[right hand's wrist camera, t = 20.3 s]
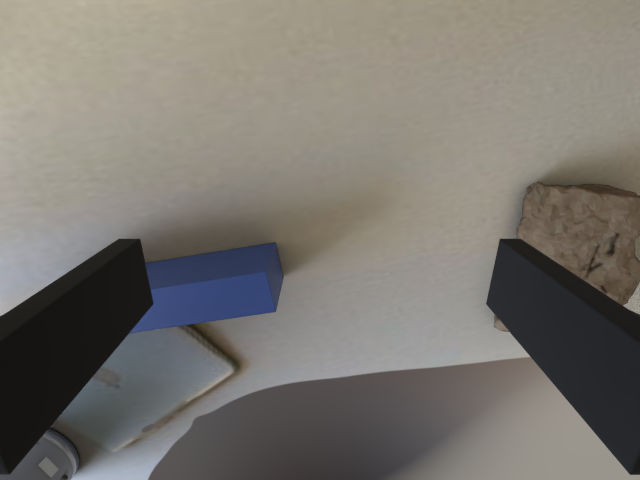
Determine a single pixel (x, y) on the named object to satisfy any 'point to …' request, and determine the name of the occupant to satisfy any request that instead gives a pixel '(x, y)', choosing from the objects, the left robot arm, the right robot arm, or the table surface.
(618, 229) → the stone
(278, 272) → the bar
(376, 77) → the table surface
